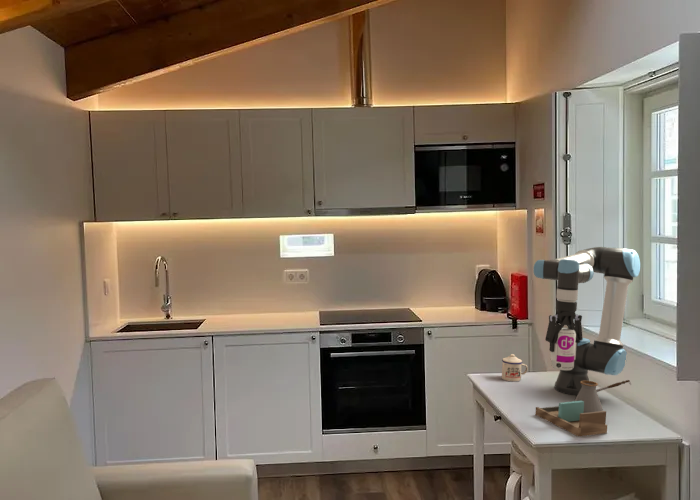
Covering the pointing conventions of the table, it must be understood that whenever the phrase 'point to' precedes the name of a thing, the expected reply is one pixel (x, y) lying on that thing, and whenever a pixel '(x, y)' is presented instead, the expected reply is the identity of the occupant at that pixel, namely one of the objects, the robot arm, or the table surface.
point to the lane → (585, 426)
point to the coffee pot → (593, 395)
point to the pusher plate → (570, 410)
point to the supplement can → (565, 350)
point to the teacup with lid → (512, 368)
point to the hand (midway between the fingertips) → (562, 359)
